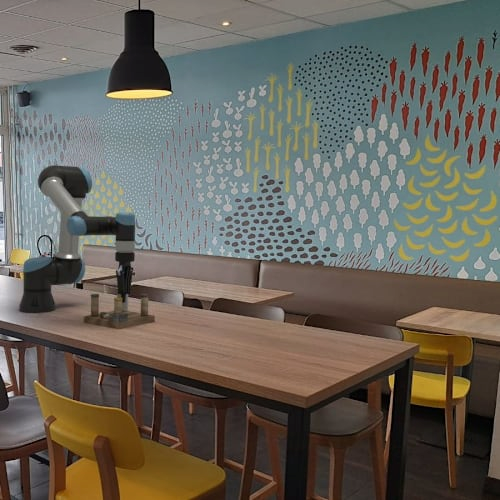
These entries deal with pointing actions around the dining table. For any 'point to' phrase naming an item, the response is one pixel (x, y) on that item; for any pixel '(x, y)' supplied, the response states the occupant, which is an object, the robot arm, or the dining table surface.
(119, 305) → the swing leg
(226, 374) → the dining table surface
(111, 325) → the stool seat
